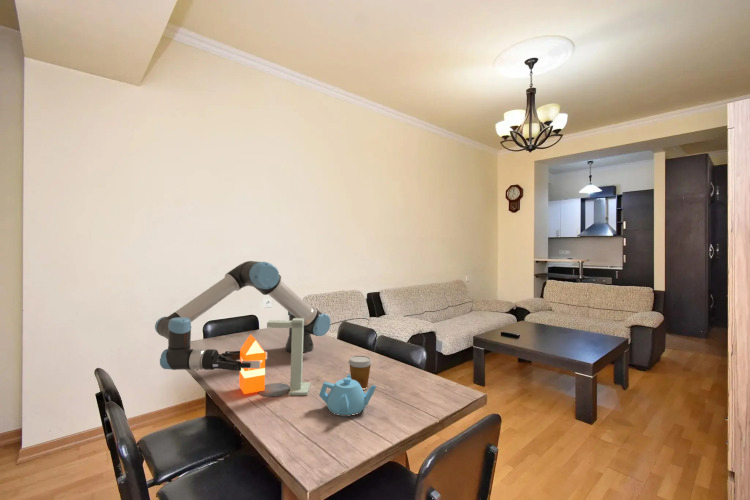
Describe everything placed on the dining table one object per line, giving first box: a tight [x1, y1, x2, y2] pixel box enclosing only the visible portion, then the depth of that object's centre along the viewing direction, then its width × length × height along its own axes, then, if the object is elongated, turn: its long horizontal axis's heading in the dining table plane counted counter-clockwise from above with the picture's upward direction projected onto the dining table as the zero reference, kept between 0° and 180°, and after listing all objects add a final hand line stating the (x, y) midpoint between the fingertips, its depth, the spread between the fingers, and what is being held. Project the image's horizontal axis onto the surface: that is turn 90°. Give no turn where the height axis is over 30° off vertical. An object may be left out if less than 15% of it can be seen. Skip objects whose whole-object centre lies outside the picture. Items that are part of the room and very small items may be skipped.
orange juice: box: [238, 334, 266, 395], centre depth 135 cm, size 8×9×20 cm
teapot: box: [318, 374, 377, 415], centre depth 123 cm, size 15×15×11 cm
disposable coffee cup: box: [347, 354, 373, 388], centre depth 141 cm, size 10×10×12 cm
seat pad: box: [257, 382, 290, 398], centre depth 136 cm, size 12×12×1 cm
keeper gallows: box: [266, 318, 311, 396], centre depth 137 cm, size 16×10×28 cm, turn 94°
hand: (263, 359), depth 136 cm, fingers closed on orange juice, 10 cm apart
